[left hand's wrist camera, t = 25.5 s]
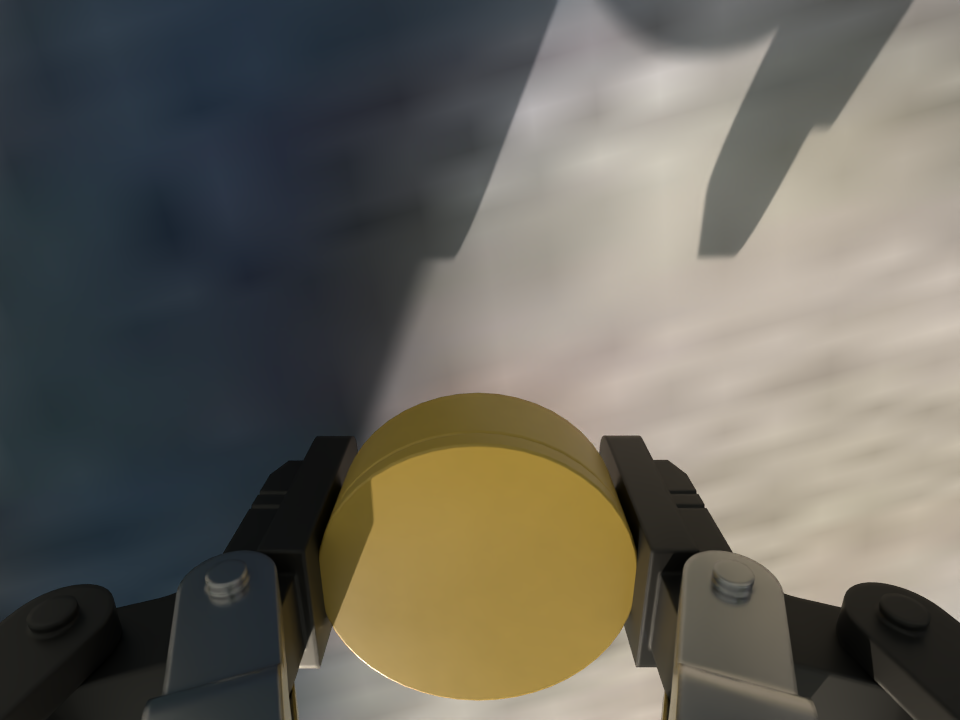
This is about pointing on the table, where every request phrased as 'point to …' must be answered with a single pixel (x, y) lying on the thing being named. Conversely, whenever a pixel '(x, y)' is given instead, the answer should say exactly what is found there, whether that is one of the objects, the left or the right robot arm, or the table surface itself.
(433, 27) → the table surface
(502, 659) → the lid
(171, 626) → the left robot arm
